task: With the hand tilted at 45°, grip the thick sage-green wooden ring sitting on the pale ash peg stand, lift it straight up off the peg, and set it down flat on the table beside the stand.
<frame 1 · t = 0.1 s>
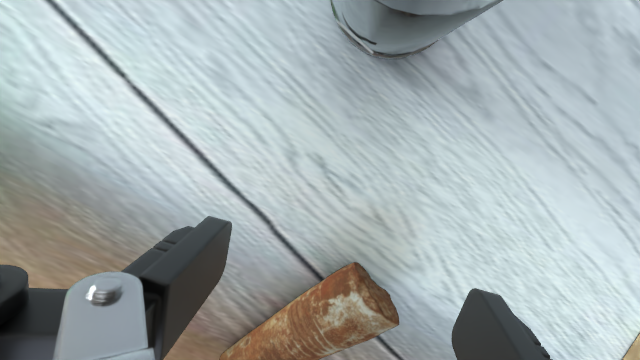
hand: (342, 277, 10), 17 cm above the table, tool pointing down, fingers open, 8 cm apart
brown piece: (305, 318, 32), on the table
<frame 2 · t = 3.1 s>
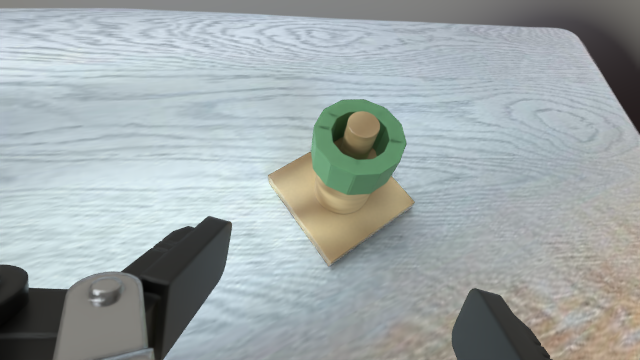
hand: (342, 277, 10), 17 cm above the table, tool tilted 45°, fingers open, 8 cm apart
peg stand: (339, 195, 31), on the table
ring: (352, 158, 25), point 7 cm above the table, touching peg stand
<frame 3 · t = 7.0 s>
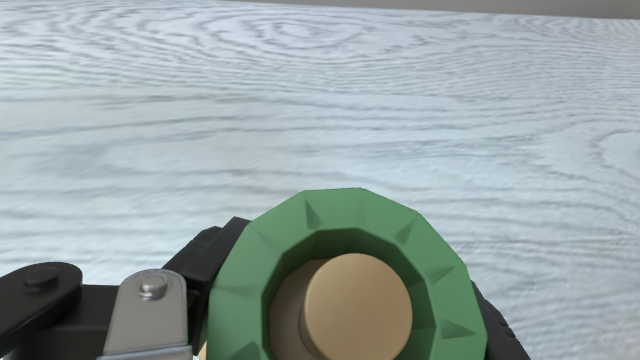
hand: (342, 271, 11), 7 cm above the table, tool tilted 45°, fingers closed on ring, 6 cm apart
peg stand: (315, 331, 16), on the table
ring: (332, 321, 10), point 7 cm above the table, touching gripper, peg stand
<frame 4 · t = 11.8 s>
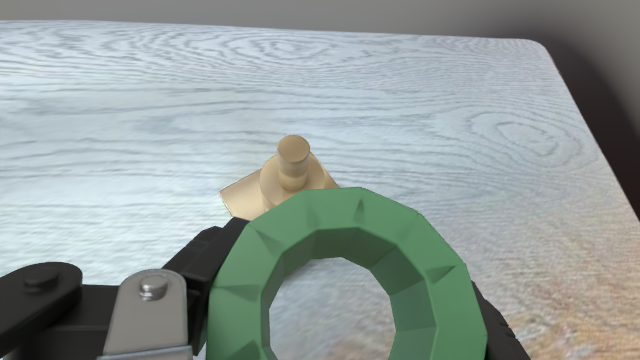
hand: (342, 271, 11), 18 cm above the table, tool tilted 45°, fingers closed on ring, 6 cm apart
peg stand: (291, 211, 31), on the table
ring: (332, 320, 10), point 18 cm above the table, touching gripper
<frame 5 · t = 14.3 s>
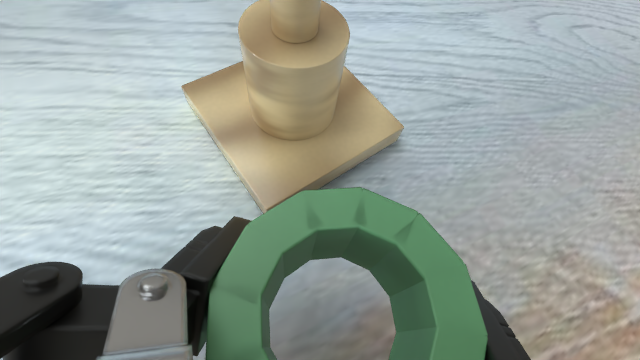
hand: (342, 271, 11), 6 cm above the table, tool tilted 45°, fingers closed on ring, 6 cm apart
peg stand: (292, 121, 21), on the table
ring: (332, 321, 10), point 6 cm above the table, touching gripper
when the fingers open (1 cm above the table, at t = 16.8 s): ring stays where it is, on the table.
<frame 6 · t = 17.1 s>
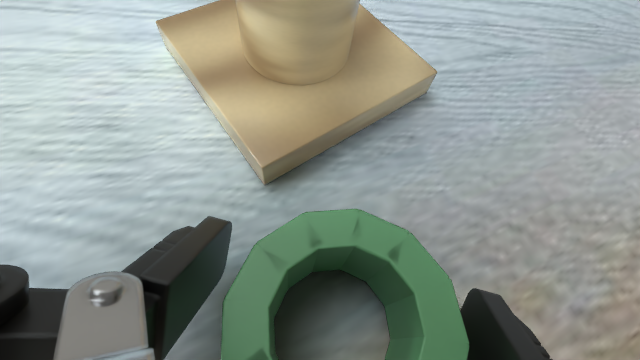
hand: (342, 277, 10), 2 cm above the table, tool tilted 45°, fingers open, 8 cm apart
peg stand: (296, 69, 17), on the table
ring: (332, 328, 11), on the table
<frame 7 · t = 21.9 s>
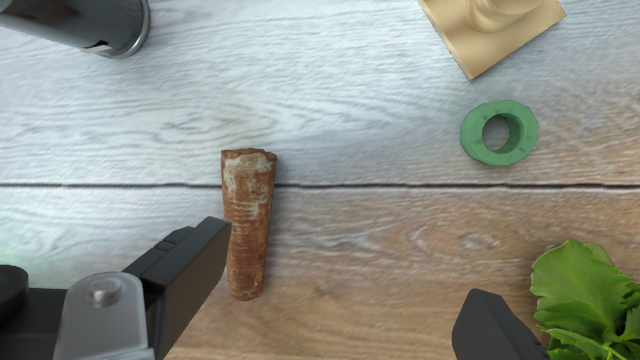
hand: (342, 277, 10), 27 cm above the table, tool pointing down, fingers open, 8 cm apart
peg stand: (486, 10, 33), on the table
potted flower: (606, 330, 37), on the table
brown piece: (258, 221, 40), on the table
ring: (490, 132, 35), on the table
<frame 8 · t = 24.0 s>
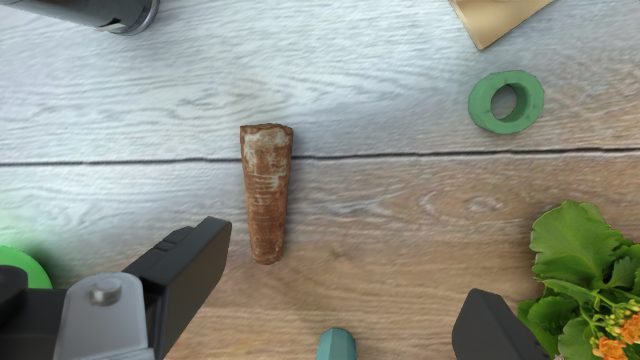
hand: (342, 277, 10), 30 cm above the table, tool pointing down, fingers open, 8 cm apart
cup: (335, 336, 48), on the table
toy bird: (35, 278, 51), on the table
potted flower: (594, 279, 41), on the table
brown piece: (276, 191, 42), on the table
ring: (497, 101, 36), on the table
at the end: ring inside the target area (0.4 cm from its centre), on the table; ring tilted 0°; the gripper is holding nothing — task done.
